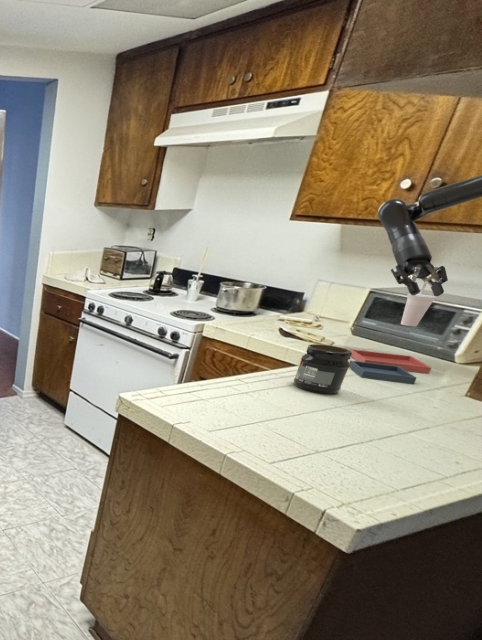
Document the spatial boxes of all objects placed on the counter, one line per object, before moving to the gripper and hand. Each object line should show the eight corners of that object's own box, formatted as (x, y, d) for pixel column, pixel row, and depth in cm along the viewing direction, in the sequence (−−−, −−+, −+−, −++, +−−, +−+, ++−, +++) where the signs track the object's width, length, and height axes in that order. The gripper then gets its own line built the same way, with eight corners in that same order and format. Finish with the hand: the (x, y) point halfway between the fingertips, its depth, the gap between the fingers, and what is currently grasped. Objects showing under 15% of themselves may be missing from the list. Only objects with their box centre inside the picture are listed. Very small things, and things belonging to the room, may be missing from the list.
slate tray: (396, 372, 151) (399, 366, 150) (413, 384, 141) (416, 377, 140) (347, 366, 156) (350, 360, 155) (361, 377, 146) (363, 370, 145)
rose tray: (408, 361, 162) (411, 356, 161) (428, 373, 150) (431, 367, 149) (348, 354, 169) (350, 349, 168) (363, 365, 157) (365, 359, 156)
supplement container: (335, 386, 137) (350, 347, 133) (342, 397, 129) (359, 356, 125) (290, 379, 143) (303, 341, 138) (294, 389, 135) (308, 349, 130)
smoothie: (410, 323, 155) (429, 280, 150) (428, 327, 149) (449, 283, 144) (389, 322, 155) (408, 279, 150) (406, 326, 150) (426, 282, 144)
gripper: (396, 243, 151) (413, 286, 144) (446, 244, 149) (465, 288, 143) (376, 258, 157) (391, 300, 151) (423, 259, 156) (441, 302, 149)
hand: (427, 294), depth 147 cm, fingers closed on smoothie, 6 cm apart
